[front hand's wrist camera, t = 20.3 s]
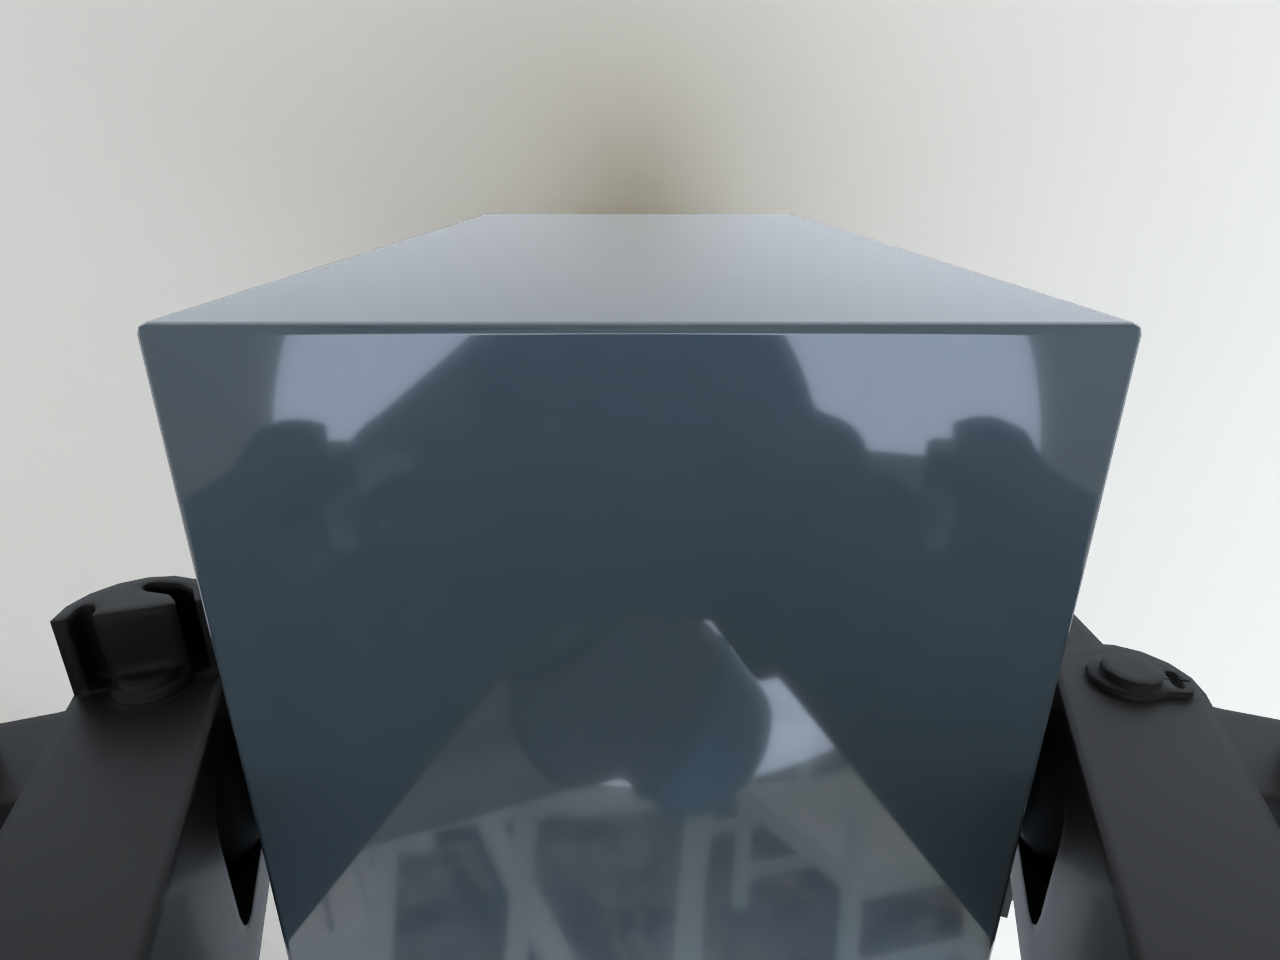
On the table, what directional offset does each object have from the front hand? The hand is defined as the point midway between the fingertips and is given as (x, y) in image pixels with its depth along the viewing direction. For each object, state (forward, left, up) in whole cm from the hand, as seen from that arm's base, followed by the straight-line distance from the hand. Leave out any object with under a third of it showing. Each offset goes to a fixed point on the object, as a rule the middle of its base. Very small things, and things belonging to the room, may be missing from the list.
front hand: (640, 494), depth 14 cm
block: (0, 0, -3) cm, 3 cm away
